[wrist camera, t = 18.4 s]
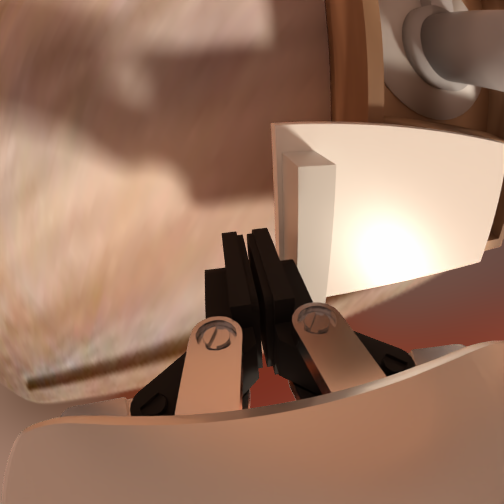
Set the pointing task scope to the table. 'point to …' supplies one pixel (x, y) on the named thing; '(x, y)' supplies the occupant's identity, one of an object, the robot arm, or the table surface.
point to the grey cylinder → (455, 46)
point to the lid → (380, 201)
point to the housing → (403, 79)
